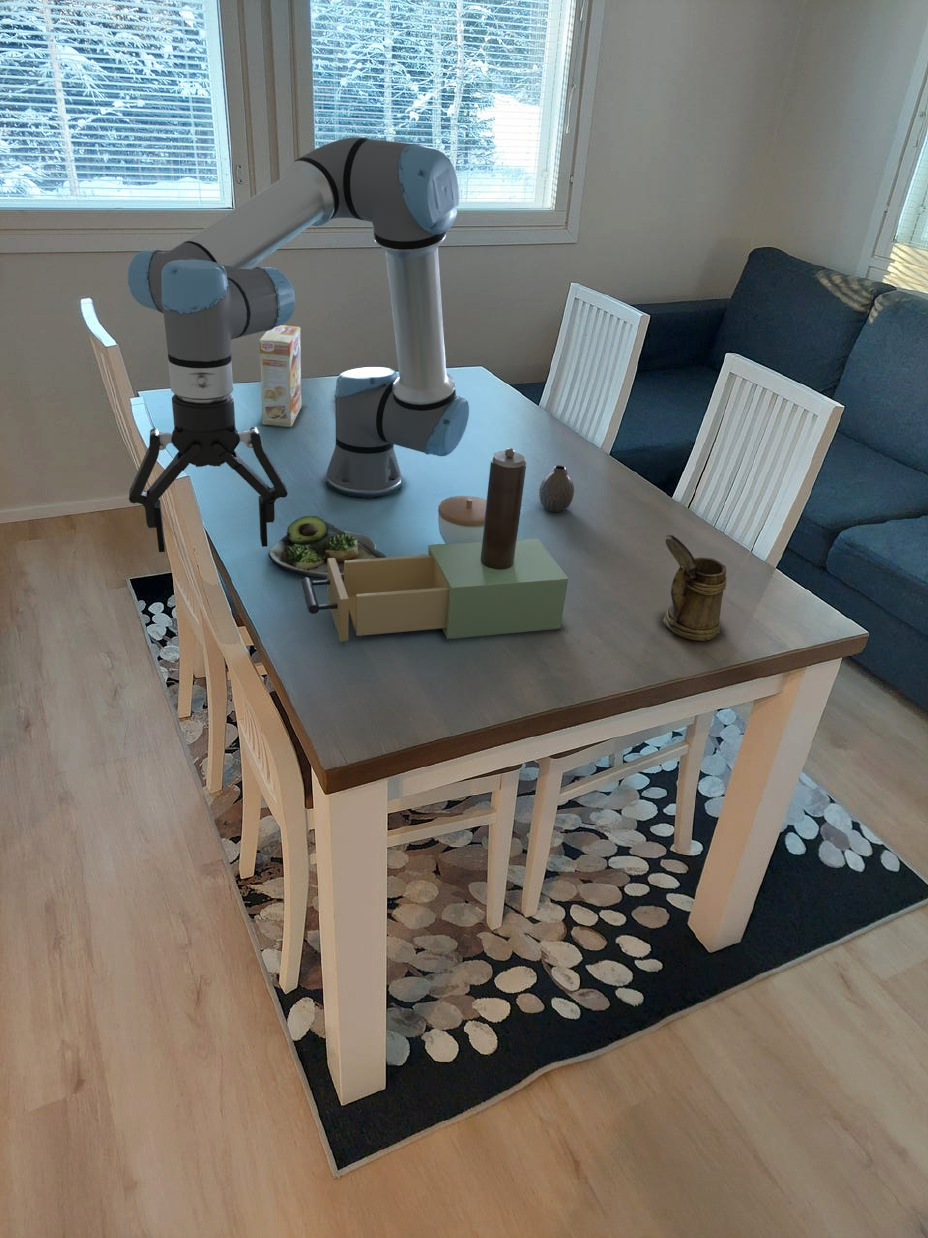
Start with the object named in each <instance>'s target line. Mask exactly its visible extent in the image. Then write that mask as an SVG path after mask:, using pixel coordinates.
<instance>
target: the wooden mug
mask: <svg viewBox="0 0 928 1238" xmlns="http://www.w3.org/2000/svg"><path fill="white" fill-rule="evenodd" d="M664 541H665V545H666V547H667V549H668V550H669V552H670V555H672V557H673V558H674V559H675V561H676V562H677V564H678V566H679V568H678V569H677V571H676V573H675V574H674V576H673V579H672V583H671V587H670V596H671V597H670V598H671V601H672V602H671V604H670V606H669V607H668V608H667V610H666V612H665V615H664V618H663V623H664V625H665V626H666V627H667V629H668V630H669V631H671V632H672V633H673V634H674V635H676V636H678V637H680V638H682V639H684V640H689V641H693V642H705V641H710V640H713V639H714V638H716V637H717V636H718V635H719V634H720V632H721V611H722V602H723V596H724V591H725V589H726V588H727V580H728V579H727V576H726V575H727V568H726V565H724V564H723V563H722V562H720V561H719V560H717V559H715V558H711V557H695V558H694V556H693V554H692V552H691V551H690V549H688V548H687V546H686V545H685V544H684V543H683V542H682V541H681V540H680V539H679V538H678V537H676V536H674V535H672V534H667V535H666V536H665V540H664Z"/></svg>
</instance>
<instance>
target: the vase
mask: <svg viewBox="0 0 928 1238" xmlns="http://www.w3.org/2000/svg"><path fill="white" fill-rule="evenodd" d="M571 477H572V476H570V474H569V472H568V468H567V467H566V466H564V465H561V464H560V465H559V464H558V465H555V466H553V468H552V470H550V472H548V474H546V475H545V476H544V477H543V479H542V480H541V483H540V485H539V490H538V491H539V492H538V496H539V497H538V498H539V501H540V504H541V505H542V507H543V508H544V509H545V510H546V511H549V512H552V513H560V512H564V511H565V510H566V509H568V508H569V507H570V505H571V504H572V502H573V499H574V495H575V484H574V481H573V479H572V478H571Z"/></svg>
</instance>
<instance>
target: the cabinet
mask: <svg viewBox="0 0 928 1238" xmlns="http://www.w3.org/2000/svg"><path fill="white" fill-rule="evenodd" d="M481 550H482V542H469V543H452V544H446V543H437V544H428V549H427V555H432V557H433V559H434V561H435V563H436V564H437V566H438V568H439V570H440V572H441V574H442V576H443V578H444V580H445V582H446V583H447V585H448V587H449V589H450V593H449V605H448V617H447V628H441V629H442V632H443V634H444V635H445V638H446V639H447V640H453V639H454V640H455V639H462V638H463V639H464V638H473V637H475V638H476V637H485V636H486V637H487V636H494V635H506V634H517V633H527V632H539V631H550V630H559V629H561V626H562V620H563V619H562V618H563V614H564V607H565V601H566V597H567V590H568V584H569V577H568V576H567V575H566V574H565V572H564V571H563V570H562V569H561V567H560V565H559V564H558V563H557V562H556V560H555V559H554V558H553V557H552V555H551V554H550V552H549V551H548V550H547V549H546V547H545V546H544V545H543V543H542V542H541V540H539V538H538V537H537V538H536V537H535V538H521V539H518V538H517V542H516V549H515V557H514V564H513V566H512V567H510V568H507V569H492V568H489V567H486V566H485V565H483V564H482V563H481Z"/></svg>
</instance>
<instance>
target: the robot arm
mask: <svg viewBox="0 0 928 1238" xmlns="http://www.w3.org/2000/svg"><path fill="white" fill-rule="evenodd" d="M459 202H460V189H459V181H458V177H457V173H456V169H455V167H454V165H453V163H452V161H451V159H450V158H449V157H448V156H446V155H445V152H443V151H441V150H440V149H438V148H435V147H430V146H425V145H423V144H421V143H415V142H412V143H408V142H401V141H391V140H383V139H375V138H368V137H362V136H352V137H345V138H340V139H337V140H334V141H331V142H328V143H326V144H324V145H321V146H319V147H317V148H315V149H313V150H311V151H309V152H307V153H304V154H303V155H301V156H300V157H298V158H297V159H295V160H293V161H292V162H290V163H289V164H287V166H285V168H284V170H283V172H282V175H281V178H280V179H278V180H277V181H275V182H273V183H272V184H270V185H269V186H268V187H266V188H264V189H263V190H261V191H259V192H258V193H256V194H255V195H253V196H252V197H250V198H248V200H246V201H244V202H243V203H242V204H240V205H238V206H237V207H235V208H233V209H232V210H231V211H229V212H228V213H226V214H224V215H223V216H222V217H220V218H219V219H217V220H215V221H214V222H212V223H211V224H209V225H208V226H206V227H205V228H203V229H201V230H200V231H199V232H197V233H195V234H194V235H192V236H191V237H189V238H188V239H186V240H185V241H183V242H182V243H180V244H178V245H176V246H175V247H174V248H172V249H170V250H169V251H165V252H164V251H162V250H159V249H155V250H152V249H145V250H141V251H139V252H137V254H135V255H134V256H133V258H132V259H131V261H130V263H129V265H128V270H127V285H128V287H129V291H130V293H131V295H132V297H133V298H134V300H135V301H136V302H137V303H138V304H139V305H141V306H142V307H145V308H147V309H152V310H154V311H157V312H159V313H161V314H163V322H164V329H165V339H166V347H167V363H168V371H169V372H168V373H169V384H170V391H171V392H172V393H173V395H172V397H171V406H172V417H173V418H172V419H173V430H172V432H163V431H160V430H159V429H158V428H151V429H150V431H149V445H148V448H147V450H146V452H145V454H144V456H143V459H142V461H141V463H140V466H139V468H138V470H137V472H136V475H135V477H134V478H133V479H134V480H133V481H132V484H131V486H130V488H129V492H128V501H129V502H130V503H131V504H140V505H141V506H143V507H144V512H145V520H146V521H145V522H146V526H147V528H148V529H156V538H157V546H158V553H165V552H166V542H165V541H166V540H165V532H164V531H165V530H164V524H163V523H164V521H163V512H162V504H161V497H162V496H163V495H164V493H165V492H166V491H167V490H168V489H169V488H170V486H171V485H172V484H173V483H174V481H176V479H177V478H178V477H179V475H180V474H181V473H182V472H184V471H185V470H186V469H187V468H188V466H189V465H190V464H191V465H193V466H195V468H203V467H206V466H210V467H221V465H223V464H225V463H226V465H228V466H229V468H230V469H232V470H233V471H235V472H236V473H237V474H238V475H239V476H240V477H241V478H242V479H243V480H244V481H245V483H247V484H248V485H249V486H250V487H251V488H252V489H253V490H254V491H255V492H256V493H258V515H259V539H260V544H261V547H262V548H267V547H269V546H268V545H269V544H268V523H274V522H275V519H276V516H275V515H276V513H275V503H276V500H278V499H280V498H283V499H284V498H286V497H288V489H287V485H286V484H285V482H284V480H283V479H282V477H281V475H280V473H279V472H278V470H277V467H276V466H275V464H274V463H273V461H272V459H271V458H270V455H269V454H268V452H267V451H266V449H265V448H264V446H263V444H262V443H263V442H262V437H261V433H260V430H259V428H258V427H257V426H252V427H250V429H249V430H243V431H238V430H237V428H236V416H235V415H236V414H235V397H234V396H233V395H232V393H233V392H234V380H233V379H234V378H233V362H232V361H233V360H232V359H233V358H232V341H231V340H234V339H238V338H241V337H246V336H250V335H253V334H257V333H262V332H267V331H269V330H272V329H274V328H275V327H277V326H280V325H286V323H287V322H289V321H290V319H291V318H292V316H293V315H294V312H295V309H296V294H295V290H294V287H293V284H292V283H291V281H290V279H289V278H288V276H287V275H285V273H283V272H282V271H281V270H279V269H277V268H275V267H271V266H268V267H267V266H266V267H261V266H256V265H258V264H259V263H260V262H262V261H263V260H265V259H266V258H267V257H269V256H270V255H272V254H273V253H274V252H276V251H277V250H278V249H280V248H282V247H283V246H284V245H286V244H287V243H288V242H290V241H291V240H292V239H294V238H295V237H297V236H298V235H299V234H301V233H302V232H303V231H305V230H306V229H308V228H309V227H310V226H313V227H321V226H323V225H325V224H327V223H328V222H329V221H331V220H334V219H355V220H360V221H364V222H370V223H372V228H373V229H372V230H373V237H374V239H373V240H374V243H375V244H376V245H377V246H379V247H380V248H381V249H383V251H384V252H385V260H386V270H387V280H388V287H389V296H390V297H389V298H390V306H391V313H392V314H391V315H392V322H393V331H394V338H395V339H394V340H395V341H394V342H395V350H396V358H397V369H398V375H397V371H395V370H394V369H393V368H389V367H383V366H366V367H357V368H353V369H352V368H351V369H348V370H346V371H344V372H342V373H340V374H339V376H338V377H337V379H336V384H335V392H334V393H335V394H334V399H335V400H334V403H335V445H334V449H333V452H332V455H331V457H330V460H329V464H328V467H327V469H326V484H327V486H328V487H329V488H330V489H331V490H333V491H334V492H336V493H338V494H340V495H341V494H342V495H345V496H349V497H354V498H367V499H368V498H369V499H370V498H379V497H380V498H381V497H386V496H388V495H392V494H393V493H395V492H397V491H398V490H399V489H400V488H401V486H402V473H401V469H400V465H399V461H398V459H397V455H396V453H395V446H398V447H401V448H405V449H409V450H413V451H416V452H419V453H423V454H425V455H427V456H428V455H432V456H438V457H447V456H448V455H450V454H452V453H453V452H454V450H456V448H457V447H458V445H459V444H460V442H461V441H462V439H463V436H464V434H465V431H466V429H467V425H468V421H469V418H470V417H469V416H470V405H469V404H470V403H469V401H468V400H467V399H466V398H465V397H463V396H462V395H461V396H460V395H457V391H456V381H455V379H454V377H453V376H451V375H450V374H449V373H447V366H446V365H447V364H446V350H445V335H444V323H443V322H444V320H443V306H442V305H443V304H442V291H441V289H442V288H441V275H440V262H439V261H440V259H439V246H440V245H441V244H442V242H443V241H444V240H445V239H446V237H447V232H448V231H449V230H450V229H451V228H452V226H453V225H454V223H455V220H456V218H457V215H458V210H457V207H458V206H459ZM255 266H256V267H255ZM241 442H242V443H243V444H245V446H246V447H247V448H248V449H252V451H253V453H254V455H255V457H256V459H257V461H258V463H259V464H260V466H261V468H262V469H263V471H264V472H265V474H266V476H267V478H268V480H269V481H270V483H271V484H272V486H270V485H269V484H268V483H266V481H264V480H263V479H262V478H261V476H259V475H258V474H257V472H256V471H255V470H254V469H253V468H252V467H250V465H249V464H247V463H246V462H245V460H244V459H242V458H241V456H240V454H239V453H237V451H236V449H237V447H238V446H239V444H240V443H241ZM169 444H172V446H174V448H175V449H176V450H177V453H176V454H175V455H174V457H173V459H172V460H171V461H170V462H169V464H168V465H167V466H166V468H164V470H163V471H162V472H161V473H160V475H158V477H157V478H156V480H155V481H154V482H153V483H152V484H151V486H150V487H148V489H147V490H145V487H146V485H147V483H148V481H149V478H150V476H151V474H152V472H153V470H154V467H155V464H156V463H157V461H158V458H159V455H160V451H164V450H165V449H167V446H168V445H169ZM144 490H145V491H144Z"/></svg>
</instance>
